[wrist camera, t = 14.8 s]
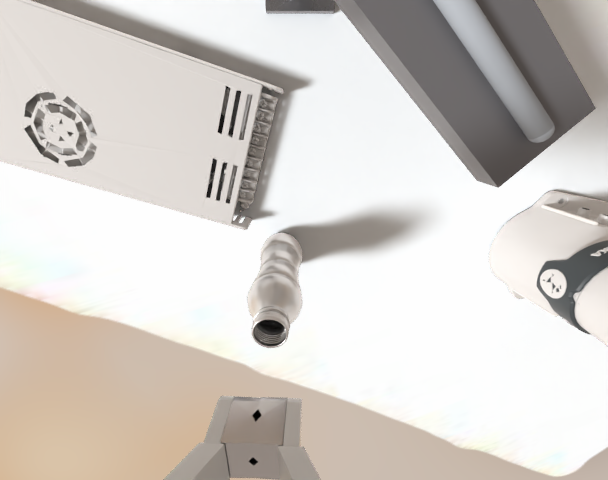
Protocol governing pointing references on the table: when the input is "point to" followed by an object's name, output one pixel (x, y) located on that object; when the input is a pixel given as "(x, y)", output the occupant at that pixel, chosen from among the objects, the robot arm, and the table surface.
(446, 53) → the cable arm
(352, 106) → the table surface
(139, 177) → the power supply unit
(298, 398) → the robot arm
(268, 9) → the post
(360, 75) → the table surface
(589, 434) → the table surface
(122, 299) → the table surface
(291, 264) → the plastic bottle
